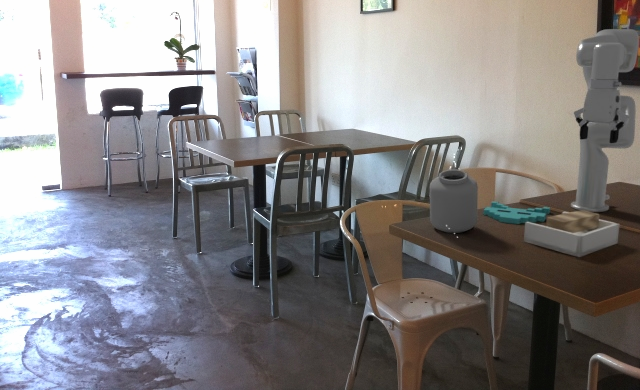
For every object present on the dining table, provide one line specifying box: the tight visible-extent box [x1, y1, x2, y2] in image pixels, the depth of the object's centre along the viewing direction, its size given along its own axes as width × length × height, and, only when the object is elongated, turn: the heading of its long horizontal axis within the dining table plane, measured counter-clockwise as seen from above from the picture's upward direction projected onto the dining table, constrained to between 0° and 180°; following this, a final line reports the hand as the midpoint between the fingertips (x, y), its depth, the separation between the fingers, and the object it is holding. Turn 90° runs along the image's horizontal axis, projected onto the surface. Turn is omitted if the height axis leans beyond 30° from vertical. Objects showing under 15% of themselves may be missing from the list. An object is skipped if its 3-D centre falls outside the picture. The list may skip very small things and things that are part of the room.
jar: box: [429, 153, 479, 238], centre depth 199 cm, size 19×15×25 cm
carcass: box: [523, 210, 620, 258], centre depth 188 cm, size 20×18×6 cm
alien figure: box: [483, 201, 551, 225], centre depth 218 cm, size 20×2×20 cm
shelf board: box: [545, 210, 600, 233], centre depth 187 cm, size 16×6×4 cm, turn 122°
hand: (598, 140), depth 196 cm, fingers open, 9 cm apart
